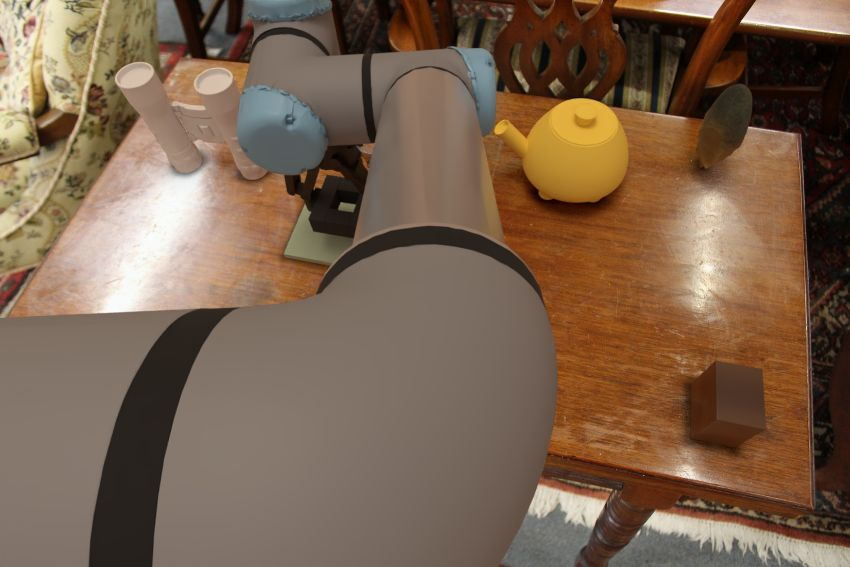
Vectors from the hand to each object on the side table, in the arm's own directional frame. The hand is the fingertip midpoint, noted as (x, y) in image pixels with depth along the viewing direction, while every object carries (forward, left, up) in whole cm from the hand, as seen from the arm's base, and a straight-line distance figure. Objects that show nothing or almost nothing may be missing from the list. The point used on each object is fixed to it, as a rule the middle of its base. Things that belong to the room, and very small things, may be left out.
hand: (352, 227), depth 82 cm
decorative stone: (+23, -50, -2) cm, 55 cm away
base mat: (0, 0, -2) cm, 2 cm away
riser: (-17, -51, -2) cm, 54 cm away
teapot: (+17, -28, -2) cm, 33 cm away
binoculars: (+9, +26, -2) cm, 28 cm away
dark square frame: (0, 0, +3) cm, 3 cm away
